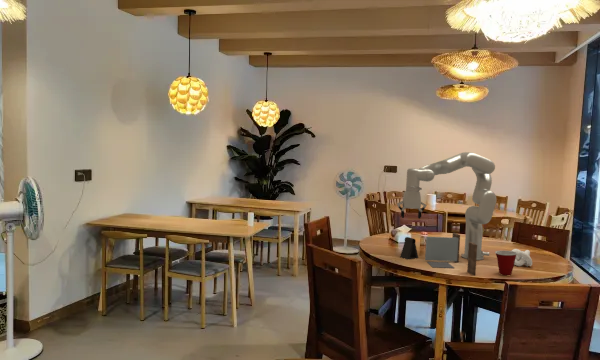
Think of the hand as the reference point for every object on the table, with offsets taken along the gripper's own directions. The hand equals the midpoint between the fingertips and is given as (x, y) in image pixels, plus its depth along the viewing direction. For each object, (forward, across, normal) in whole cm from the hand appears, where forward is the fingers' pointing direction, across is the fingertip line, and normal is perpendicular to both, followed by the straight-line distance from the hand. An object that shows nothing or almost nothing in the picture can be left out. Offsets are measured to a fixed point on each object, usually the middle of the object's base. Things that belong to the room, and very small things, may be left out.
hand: (410, 218), depth 261 cm
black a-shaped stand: (+24, 0, 0) cm, 24 cm away
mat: (+24, -14, +16) cm, 32 cm away
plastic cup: (+24, -44, +29) cm, 58 cm away
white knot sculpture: (+24, -63, +7) cm, 68 cm away
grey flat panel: (+23, -17, +8) cm, 29 cm away
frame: (+24, -26, +16) cm, 39 cm away
